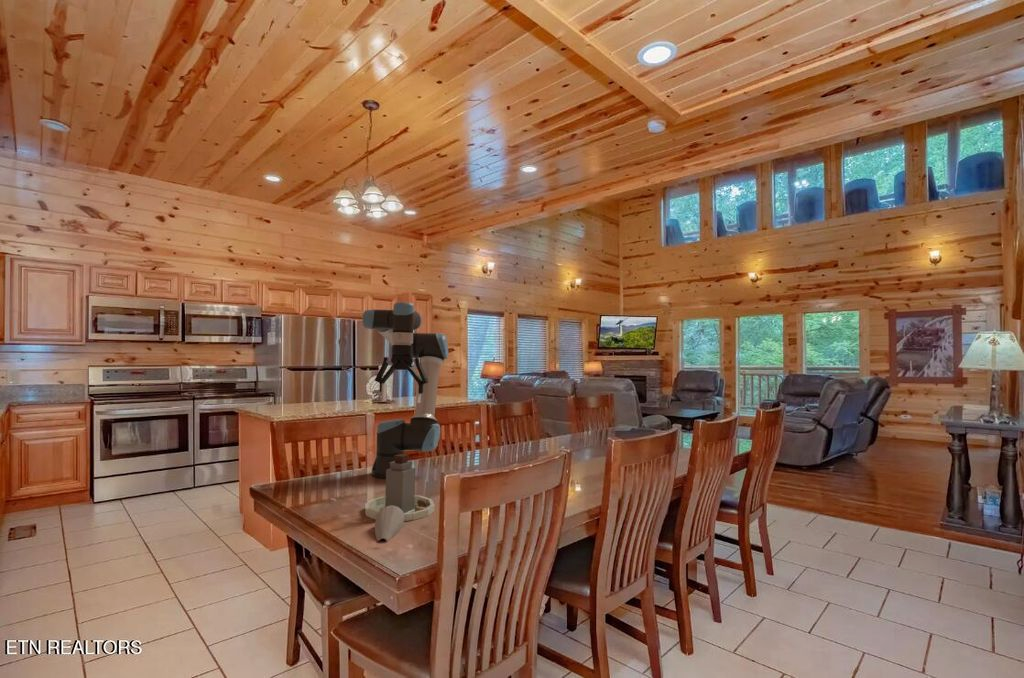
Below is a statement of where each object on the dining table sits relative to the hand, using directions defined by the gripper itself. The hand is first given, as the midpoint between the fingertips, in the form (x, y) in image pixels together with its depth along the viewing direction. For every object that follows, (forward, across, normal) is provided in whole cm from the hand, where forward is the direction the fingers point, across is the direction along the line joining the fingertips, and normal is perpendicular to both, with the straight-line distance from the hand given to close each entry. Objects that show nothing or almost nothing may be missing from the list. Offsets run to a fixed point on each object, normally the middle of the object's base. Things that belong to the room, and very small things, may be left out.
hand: (400, 402), depth 190 cm
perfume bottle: (+34, +9, -18) cm, 39 cm away
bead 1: (+34, +14, -12) cm, 38 cm away
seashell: (+35, +14, -37) cm, 53 cm away
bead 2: (+34, +17, -20) cm, 42 cm away
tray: (+35, +9, -18) cm, 40 cm away
